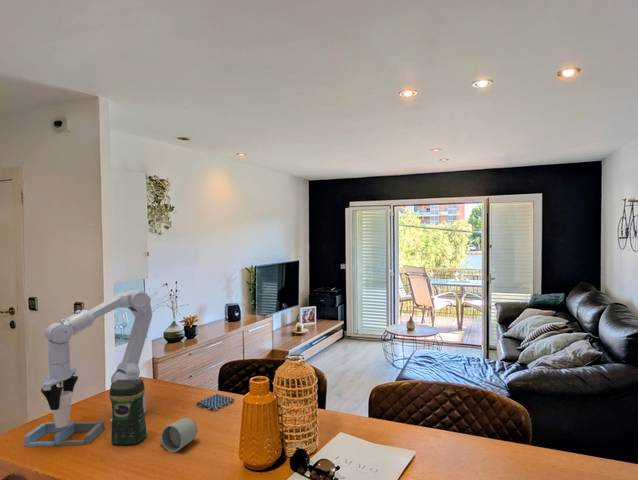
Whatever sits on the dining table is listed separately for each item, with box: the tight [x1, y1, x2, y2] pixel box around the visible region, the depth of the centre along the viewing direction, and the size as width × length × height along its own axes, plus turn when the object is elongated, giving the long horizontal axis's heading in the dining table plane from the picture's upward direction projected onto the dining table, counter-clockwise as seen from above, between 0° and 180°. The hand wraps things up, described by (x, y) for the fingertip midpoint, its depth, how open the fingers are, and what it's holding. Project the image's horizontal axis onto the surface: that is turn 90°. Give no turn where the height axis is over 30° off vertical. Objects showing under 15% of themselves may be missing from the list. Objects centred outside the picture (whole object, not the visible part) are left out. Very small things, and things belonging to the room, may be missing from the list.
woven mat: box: [195, 393, 235, 413], centre depth 156 cm, size 10×11×2 cm
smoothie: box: [51, 381, 74, 428], centre depth 133 cm, size 6×6×14 cm
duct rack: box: [23, 420, 106, 448], centre depth 133 cm, size 20×10×3 cm, turn 92°
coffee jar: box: [109, 378, 147, 446], centre depth 131 cm, size 10×8×19 cm
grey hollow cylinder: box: [159, 417, 198, 453], centre depth 127 cm, size 11×8×8 cm
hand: (61, 405), depth 133 cm, fingers closed on smoothie, 6 cm apart
